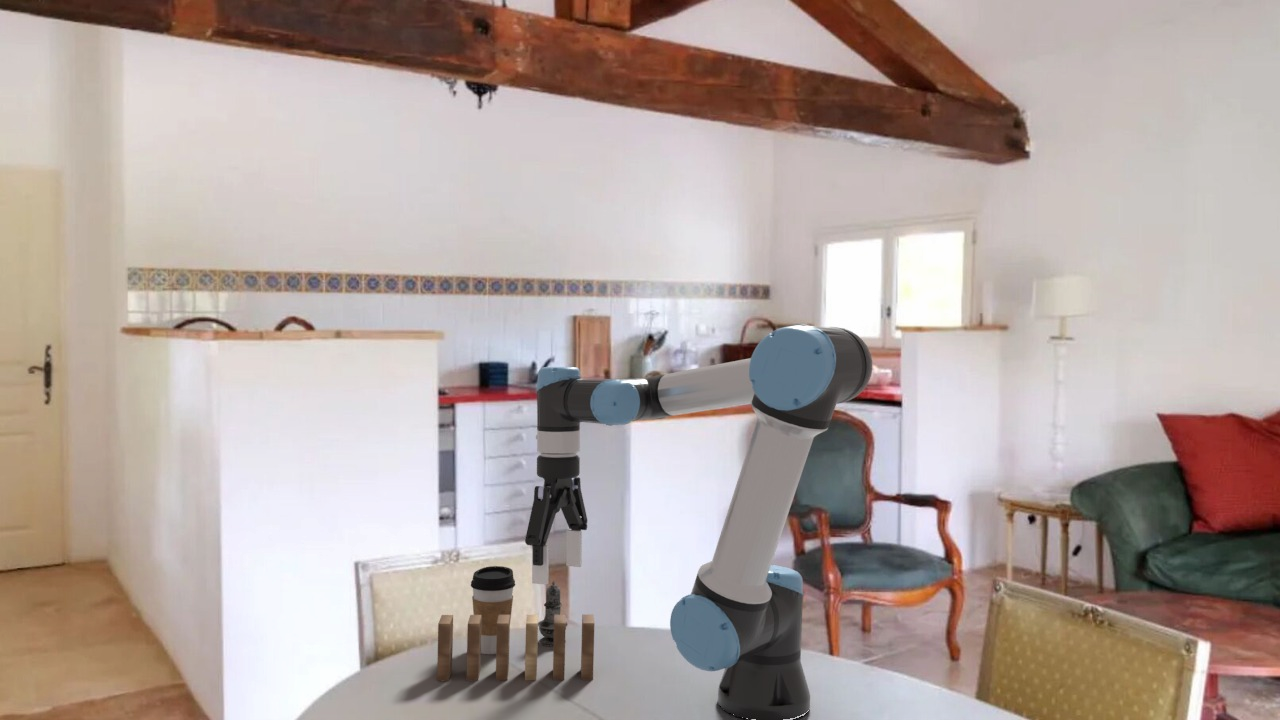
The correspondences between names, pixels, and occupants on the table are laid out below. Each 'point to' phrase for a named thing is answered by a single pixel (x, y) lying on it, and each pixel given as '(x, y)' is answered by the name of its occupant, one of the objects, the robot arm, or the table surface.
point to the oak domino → (531, 647)
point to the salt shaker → (550, 615)
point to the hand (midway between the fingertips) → (557, 574)
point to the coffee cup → (492, 601)
